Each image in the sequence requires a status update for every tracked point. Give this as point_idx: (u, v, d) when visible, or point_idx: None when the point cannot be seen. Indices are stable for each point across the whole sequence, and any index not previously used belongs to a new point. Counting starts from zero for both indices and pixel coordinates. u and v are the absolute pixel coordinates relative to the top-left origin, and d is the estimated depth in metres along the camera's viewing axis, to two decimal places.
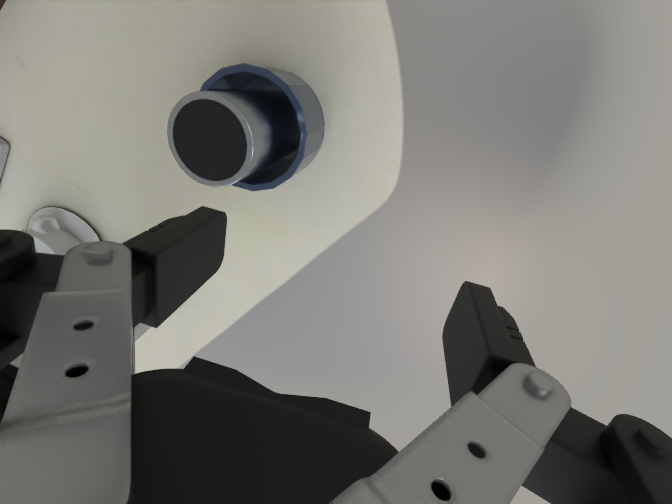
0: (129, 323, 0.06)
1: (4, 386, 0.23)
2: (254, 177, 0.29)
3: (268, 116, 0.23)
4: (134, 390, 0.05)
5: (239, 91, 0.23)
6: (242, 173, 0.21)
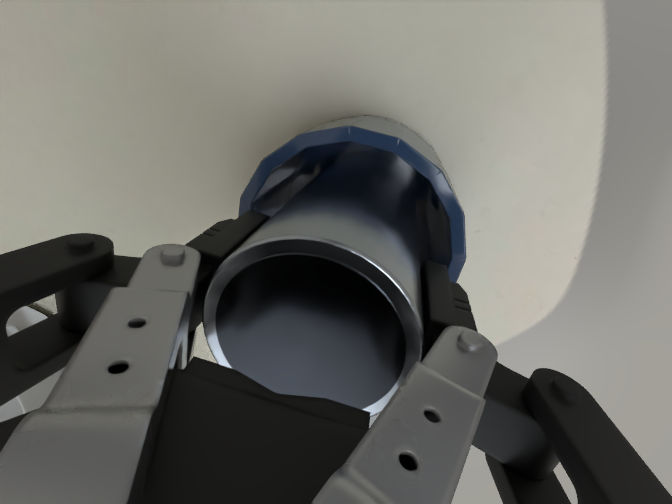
0: (177, 327, 0.06)
1: None
2: None
3: (413, 245, 0.11)
4: (169, 395, 0.05)
5: (351, 192, 0.11)
6: (381, 408, 0.09)
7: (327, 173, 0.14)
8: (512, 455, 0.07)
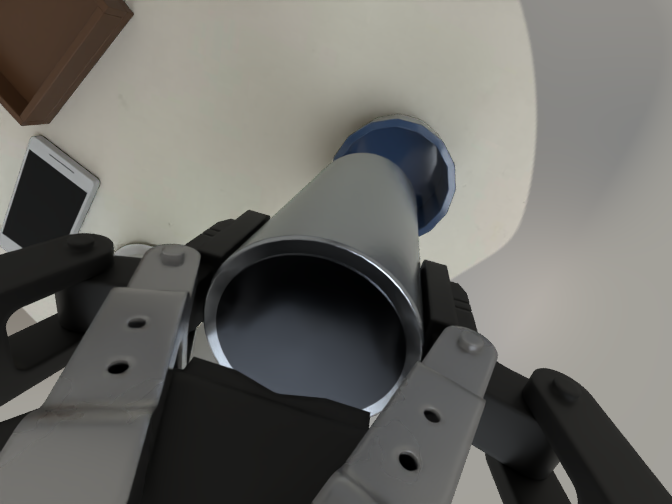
0: (177, 327, 0.06)
1: None
2: None
3: (414, 245, 0.11)
4: (169, 395, 0.05)
5: (351, 192, 0.11)
6: (381, 408, 0.09)
7: (327, 173, 0.14)
8: (512, 455, 0.07)
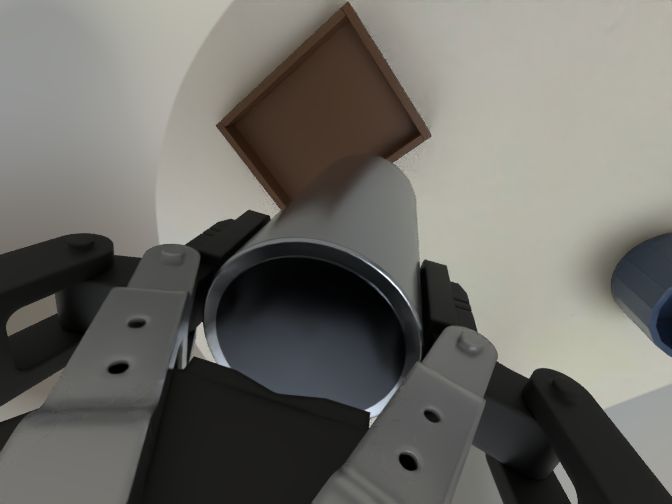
0: (176, 327, 0.06)
1: None
2: None
3: (414, 247, 0.11)
4: (169, 395, 0.05)
5: (351, 194, 0.11)
6: (381, 410, 0.09)
7: (327, 175, 0.14)
8: (512, 455, 0.07)
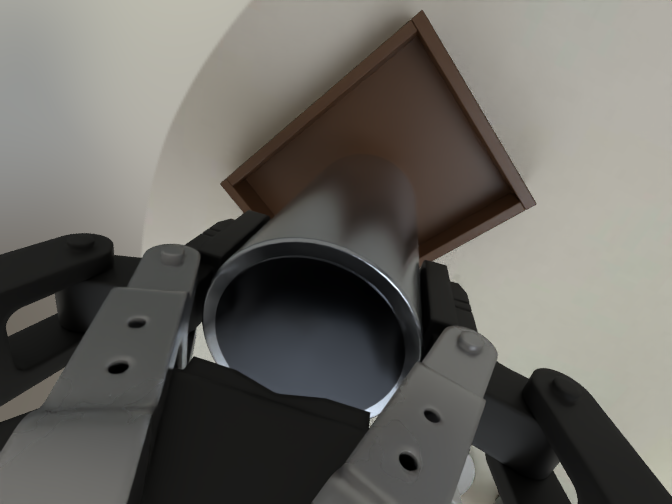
0: (177, 328, 0.06)
1: None
2: None
3: (413, 247, 0.11)
4: (170, 395, 0.05)
5: (351, 194, 0.11)
6: (380, 410, 0.09)
7: (327, 175, 0.14)
8: (512, 455, 0.07)
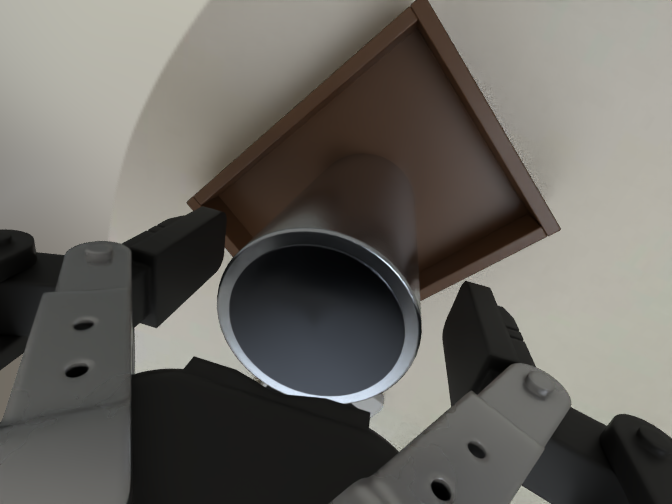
0: (129, 323, 0.06)
1: None
2: None
3: (412, 239, 0.11)
4: (134, 390, 0.05)
5: (353, 190, 0.11)
6: (382, 388, 0.10)
7: (330, 173, 0.14)
8: None
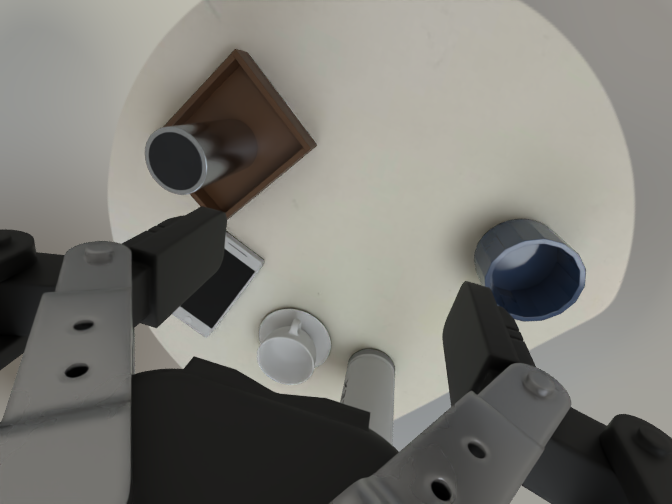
0: (129, 323, 0.06)
1: None
2: (513, 305, 0.37)
3: (221, 141, 0.31)
4: (134, 390, 0.05)
5: (199, 123, 0.31)
6: (200, 184, 0.29)
7: None
8: None
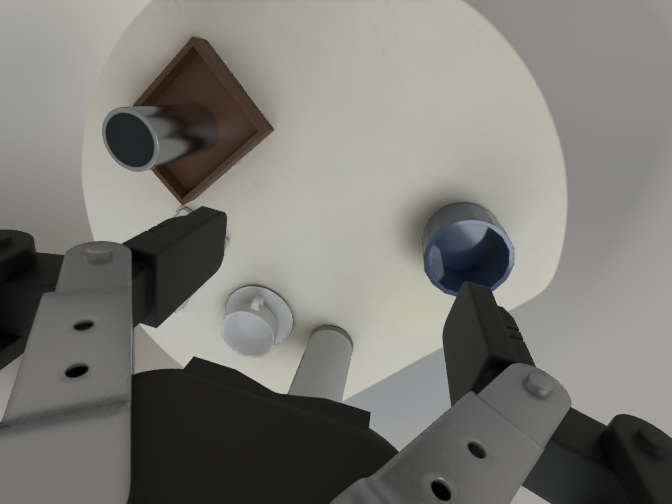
0: (129, 323, 0.06)
1: None
2: (453, 283, 0.40)
3: (175, 123, 0.34)
4: (134, 390, 0.05)
5: (155, 106, 0.34)
6: (153, 162, 0.32)
7: None
8: None
